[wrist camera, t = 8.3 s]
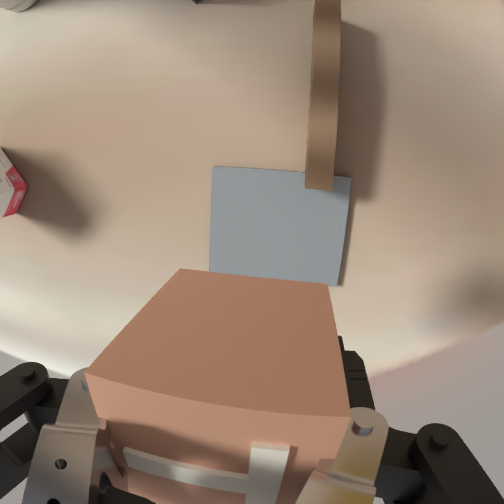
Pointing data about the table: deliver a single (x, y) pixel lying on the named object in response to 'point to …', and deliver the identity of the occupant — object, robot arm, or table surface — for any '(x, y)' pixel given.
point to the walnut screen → (323, 95)
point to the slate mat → (276, 225)
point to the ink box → (10, 187)
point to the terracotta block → (224, 390)
